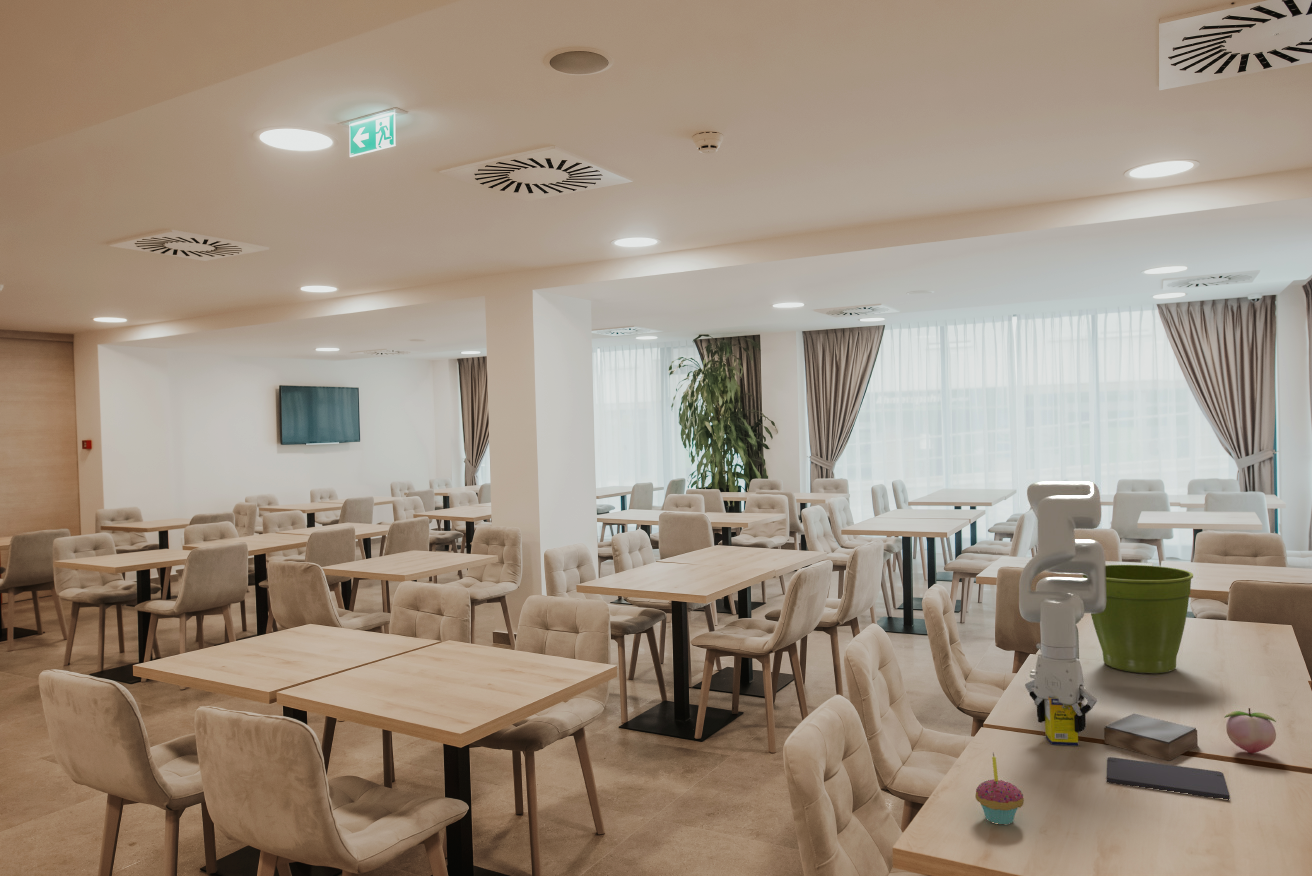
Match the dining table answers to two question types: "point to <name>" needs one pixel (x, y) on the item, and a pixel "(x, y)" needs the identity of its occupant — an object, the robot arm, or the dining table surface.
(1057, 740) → the supplement box
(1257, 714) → the decorative fruit
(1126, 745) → the dock
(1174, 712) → the dining table surface
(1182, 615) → the plant pot
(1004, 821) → the cupcake
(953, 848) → the dining table surface
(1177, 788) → the notebook
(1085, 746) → the dining table surface
